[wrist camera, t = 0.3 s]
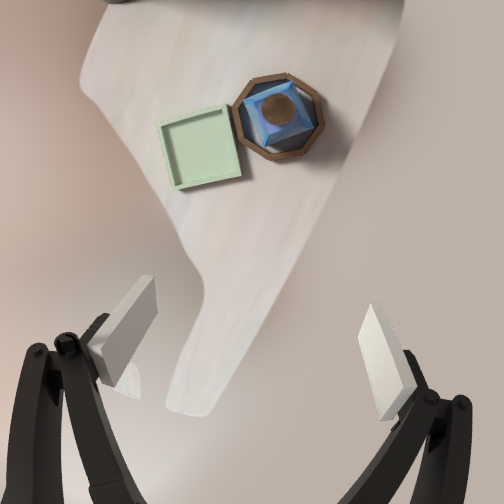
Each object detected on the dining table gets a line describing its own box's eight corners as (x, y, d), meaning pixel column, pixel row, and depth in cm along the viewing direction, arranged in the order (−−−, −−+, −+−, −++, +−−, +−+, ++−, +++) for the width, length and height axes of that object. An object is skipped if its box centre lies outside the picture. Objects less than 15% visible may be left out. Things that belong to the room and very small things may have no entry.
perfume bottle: (290, 88, 33) (294, 69, 22) (308, 128, 35) (320, 127, 24) (248, 105, 35) (234, 93, 24) (266, 145, 37) (260, 150, 26)
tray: (160, 123, 36) (156, 123, 35) (227, 104, 35) (225, 103, 33) (176, 188, 40) (172, 191, 39) (242, 174, 39) (241, 175, 37)
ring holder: (227, 85, 34) (226, 84, 32) (311, 71, 32) (312, 69, 30) (245, 164, 38) (243, 165, 37) (327, 150, 36) (329, 151, 35)
